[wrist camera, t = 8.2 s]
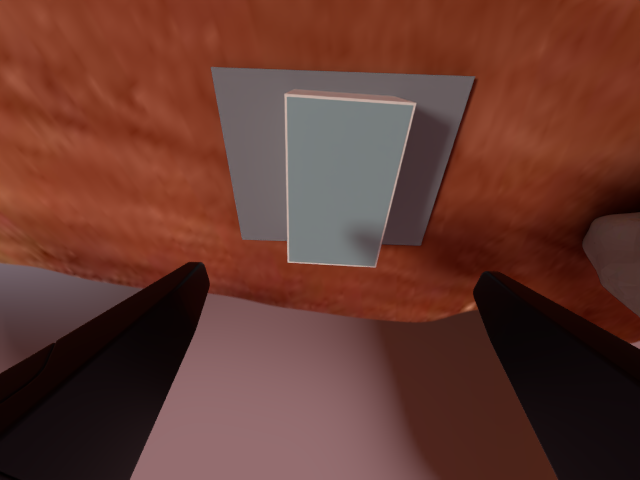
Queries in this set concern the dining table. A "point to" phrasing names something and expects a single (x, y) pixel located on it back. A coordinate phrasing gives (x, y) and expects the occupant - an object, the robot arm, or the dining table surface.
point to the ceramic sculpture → (617, 255)
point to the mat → (270, 154)
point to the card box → (341, 173)
